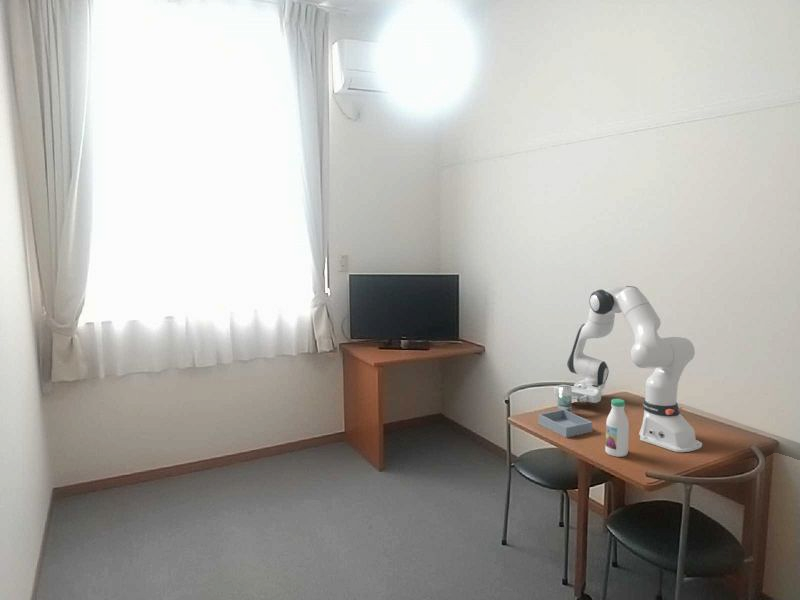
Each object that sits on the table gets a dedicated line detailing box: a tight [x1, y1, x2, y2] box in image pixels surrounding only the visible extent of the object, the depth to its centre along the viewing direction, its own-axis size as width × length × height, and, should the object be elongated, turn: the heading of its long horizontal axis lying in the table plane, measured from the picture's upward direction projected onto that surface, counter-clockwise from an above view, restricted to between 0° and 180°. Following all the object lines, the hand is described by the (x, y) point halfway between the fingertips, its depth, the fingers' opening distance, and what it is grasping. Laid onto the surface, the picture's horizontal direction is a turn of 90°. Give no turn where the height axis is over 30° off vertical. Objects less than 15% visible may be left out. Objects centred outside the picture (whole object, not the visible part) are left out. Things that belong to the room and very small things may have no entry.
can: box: [557, 384, 573, 413], centre depth 244 cm, size 6×6×12 cm
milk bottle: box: [604, 398, 630, 458], centre depth 201 cm, size 8×8×20 cm
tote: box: [537, 409, 593, 439], centre depth 228 cm, size 17×13×4 cm
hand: (568, 397), depth 246 cm, fingers open, 8 cm apart
